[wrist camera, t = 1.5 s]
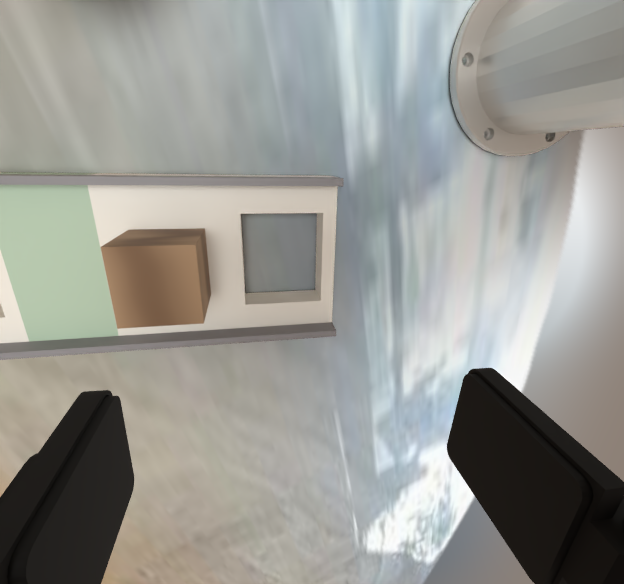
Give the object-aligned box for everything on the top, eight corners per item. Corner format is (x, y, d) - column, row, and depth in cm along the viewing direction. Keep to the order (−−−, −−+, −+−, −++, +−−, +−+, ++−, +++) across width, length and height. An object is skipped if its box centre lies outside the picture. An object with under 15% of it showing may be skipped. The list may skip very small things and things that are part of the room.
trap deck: (330, 175, 27) (343, 178, 23) (325, 315, 31) (335, 336, 28) (-132, 170, 22) (-207, 173, 18) (-62, 338, 26) (-111, 367, 23)
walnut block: (204, 228, 24) (195, 244, 20) (211, 294, 26) (203, 323, 22) (128, 229, 24) (100, 247, 19) (140, 297, 25) (117, 328, 21)
